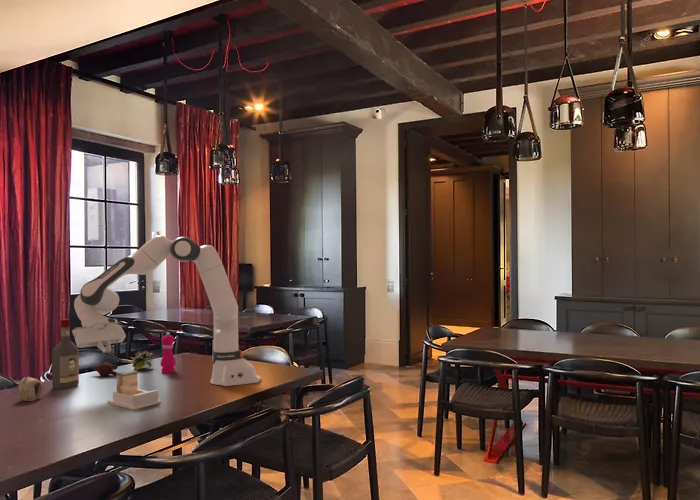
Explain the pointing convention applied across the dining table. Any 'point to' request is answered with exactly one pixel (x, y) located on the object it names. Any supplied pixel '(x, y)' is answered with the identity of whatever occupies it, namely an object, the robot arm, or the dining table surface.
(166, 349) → the pepper mill
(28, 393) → the tan rounded lump
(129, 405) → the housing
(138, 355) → the passion flower
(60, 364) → the liquor
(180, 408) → the dining table surface
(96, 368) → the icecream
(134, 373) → the light wood tall block
